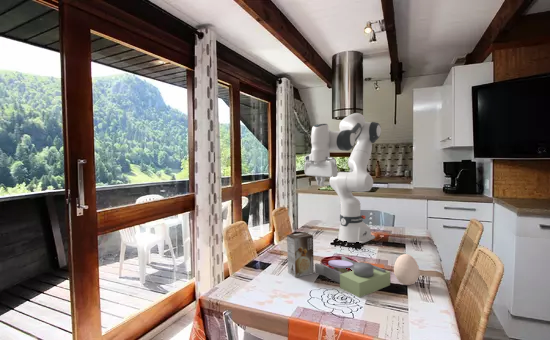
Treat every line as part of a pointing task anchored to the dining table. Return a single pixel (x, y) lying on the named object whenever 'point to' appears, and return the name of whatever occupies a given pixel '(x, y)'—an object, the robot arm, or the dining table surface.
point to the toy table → (340, 265)
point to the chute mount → (331, 270)
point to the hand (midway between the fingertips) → (320, 185)
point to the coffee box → (300, 254)
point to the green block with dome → (364, 279)
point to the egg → (406, 269)
